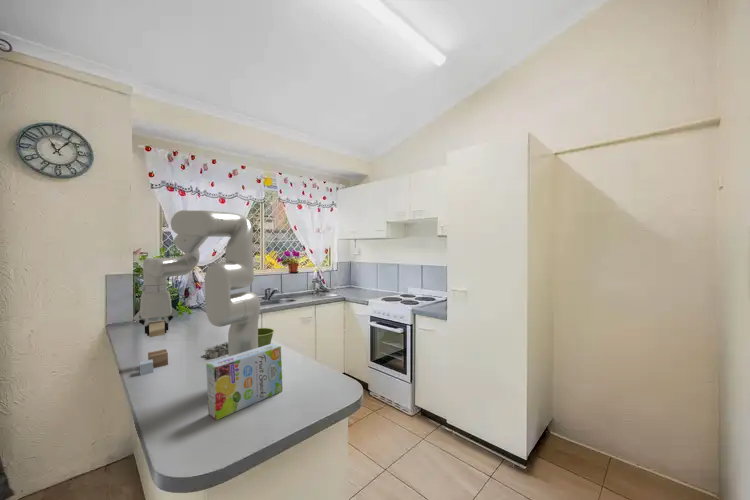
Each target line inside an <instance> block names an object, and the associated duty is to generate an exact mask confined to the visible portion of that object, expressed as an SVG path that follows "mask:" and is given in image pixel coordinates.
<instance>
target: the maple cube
mask: <svg viewBox="0 0 750 500" xmlns="http://www.w3.org/2000/svg"><path fill="white" fill-rule="evenodd" d="M164 321H165V320H164V319H159V320H153V321H149V322H148V324H149V336H148V337H149V338H153V337H159V336H165V335H166V333H165V322H164Z"/></svg>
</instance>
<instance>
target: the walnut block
mask: <svg viewBox="0 0 750 500" xmlns="http://www.w3.org/2000/svg"><path fill="white" fill-rule="evenodd" d="M151 359H153V369H156V368H161V367H165V366H168V365H169V353H168V351H167V349H166V348H165V349H160V350H154V351H149V352H147V360H151Z"/></svg>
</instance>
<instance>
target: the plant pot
mask: <svg viewBox="0 0 750 500" xmlns="http://www.w3.org/2000/svg"><path fill="white" fill-rule="evenodd" d="M274 332H275V330H274V329H273V328H271V327H258V348H259V347H262V346H266V345H269V344H272V338H273V334H274Z"/></svg>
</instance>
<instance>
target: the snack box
mask: <svg viewBox="0 0 750 500" xmlns="http://www.w3.org/2000/svg"><path fill="white" fill-rule="evenodd" d="M282 363H283V362H282V346H281V345H277V344H275V343H271V344H269V345H266V346H262V347H259V348H256V349H252V350H249V351H246V352H243V353H239V354H236V355H233V356H230V357H229V356H226V357H224V358H220V359H217V360H212V361H210V362H207V363H206V365H205V366H206V387H207V406H208V407H207V411H208V415H209V416H210V417H212V418H213V419H214V420H215V421H218V420H220V419H222V418H225V417H226V416H229V415H231V414H233V413H235V412H238V411H240V410H243V409H245V408H247V407H249V406H253V404H256V403H259V402H260V401H263V400H266V399H267V398H269V397H272V396H274V395H276V394H278V393H281V392H283V369H282V366H283V365H282Z"/></svg>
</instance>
